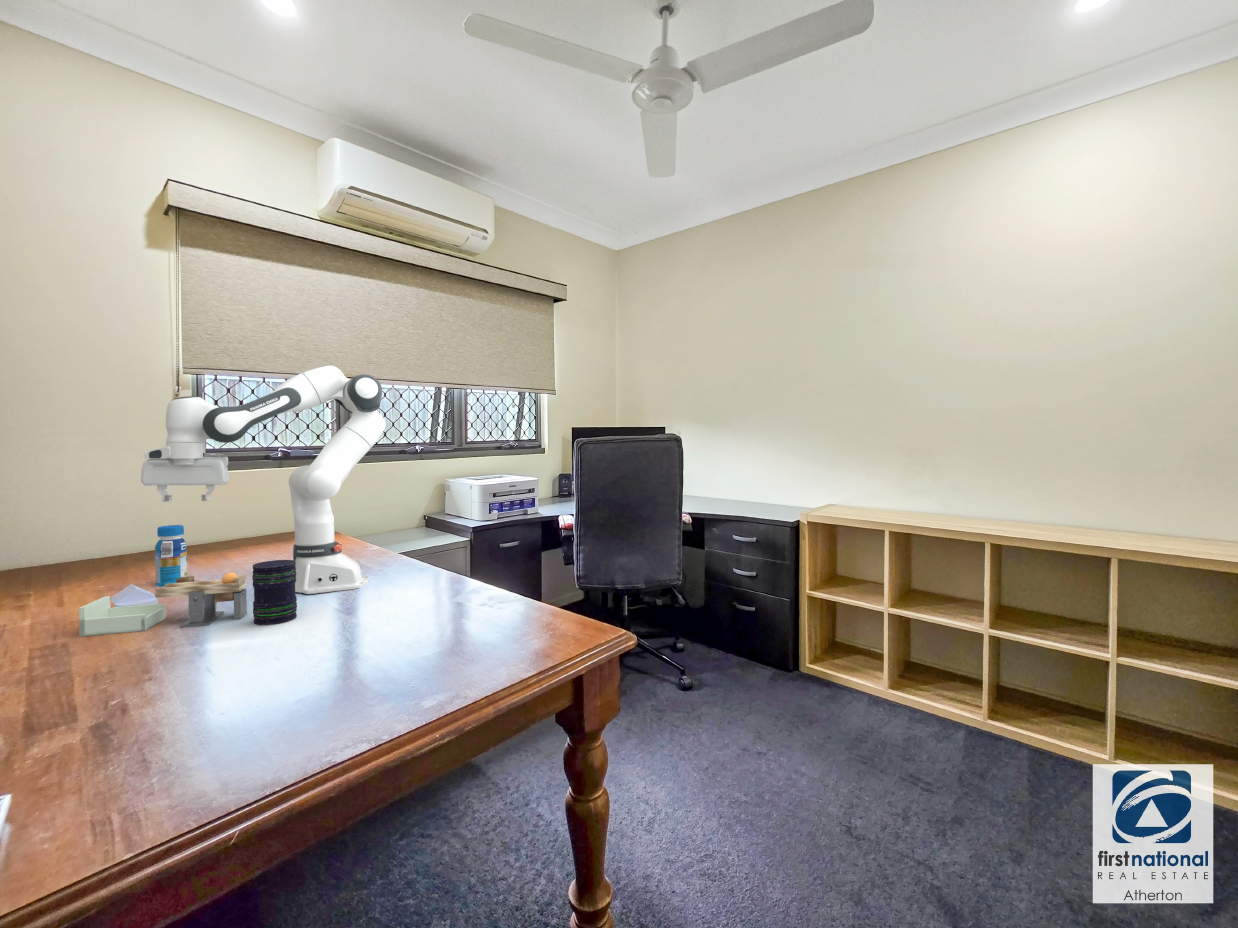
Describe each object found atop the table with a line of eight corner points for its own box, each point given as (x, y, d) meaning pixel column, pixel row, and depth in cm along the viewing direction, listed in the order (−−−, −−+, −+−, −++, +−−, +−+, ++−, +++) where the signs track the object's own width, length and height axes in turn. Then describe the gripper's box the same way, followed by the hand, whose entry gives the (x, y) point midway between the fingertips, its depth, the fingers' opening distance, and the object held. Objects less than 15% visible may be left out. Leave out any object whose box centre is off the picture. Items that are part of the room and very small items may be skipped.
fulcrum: (250, 610, 150) (249, 580, 150) (236, 622, 140) (236, 589, 140) (198, 615, 146) (197, 583, 146) (180, 627, 136) (179, 593, 136)
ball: (240, 583, 146) (240, 570, 146) (235, 586, 143) (235, 573, 143) (224, 584, 145) (224, 571, 145) (219, 588, 142) (219, 574, 142)
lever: (256, 587, 156) (256, 567, 156) (239, 600, 142) (238, 578, 142) (181, 592, 151) (181, 571, 150) (155, 607, 136) (154, 584, 136)
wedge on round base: (109, 610, 151) (117, 620, 142) (109, 587, 151) (116, 594, 142) (151, 603, 158) (161, 612, 149) (151, 581, 157) (161, 588, 149)
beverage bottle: (148, 588, 176) (147, 527, 175) (176, 582, 184) (175, 524, 183) (167, 590, 173) (165, 528, 173) (194, 584, 181) (193, 524, 181)
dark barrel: (275, 626, 137) (274, 568, 136) (243, 624, 139) (242, 566, 138) (306, 614, 146) (305, 560, 146) (275, 612, 148) (274, 559, 148)
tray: (165, 617, 144) (165, 591, 144) (145, 630, 134) (144, 602, 134) (105, 623, 140) (105, 596, 140) (79, 636, 130) (78, 607, 129)
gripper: (232, 453, 160) (233, 499, 160) (150, 452, 155) (150, 500, 155) (223, 453, 154) (223, 501, 154) (137, 452, 149) (137, 502, 149)
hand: (186, 501), depth 155 cm, fingers open, 8 cm apart
